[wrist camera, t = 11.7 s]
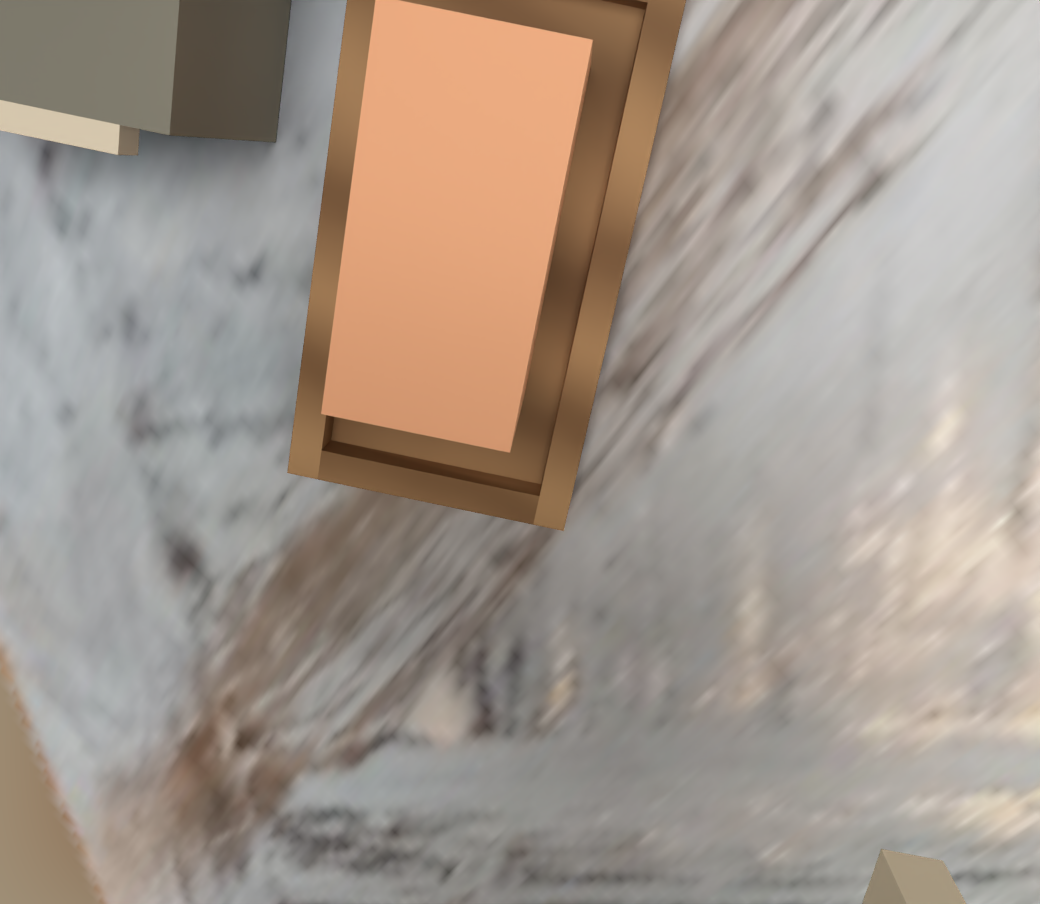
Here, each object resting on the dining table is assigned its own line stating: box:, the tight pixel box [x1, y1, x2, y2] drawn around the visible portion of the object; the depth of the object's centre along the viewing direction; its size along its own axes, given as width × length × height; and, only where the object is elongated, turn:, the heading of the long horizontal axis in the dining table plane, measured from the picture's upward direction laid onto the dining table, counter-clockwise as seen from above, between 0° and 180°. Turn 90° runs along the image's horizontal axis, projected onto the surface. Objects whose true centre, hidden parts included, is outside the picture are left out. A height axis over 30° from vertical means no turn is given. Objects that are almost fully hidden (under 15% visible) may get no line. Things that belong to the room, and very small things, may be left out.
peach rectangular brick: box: [321, 0, 593, 453], centre depth 30 cm, size 12×6×8 cm, turn 169°
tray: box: [287, 0, 686, 531], centre depth 34 cm, size 20×11×2 cm, turn 169°
